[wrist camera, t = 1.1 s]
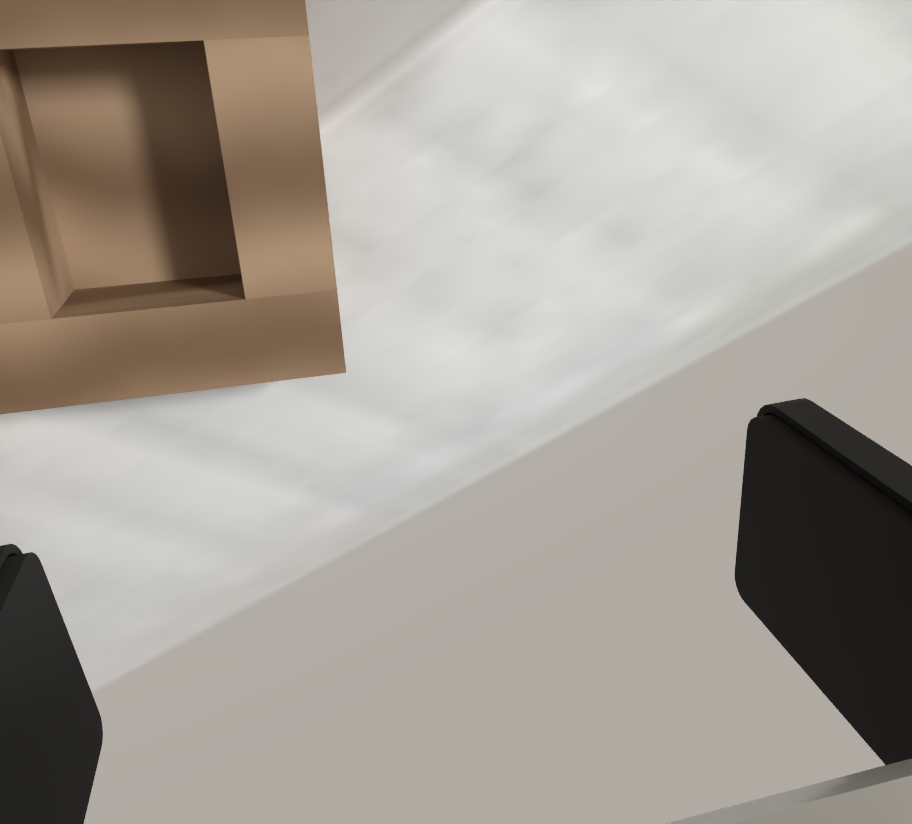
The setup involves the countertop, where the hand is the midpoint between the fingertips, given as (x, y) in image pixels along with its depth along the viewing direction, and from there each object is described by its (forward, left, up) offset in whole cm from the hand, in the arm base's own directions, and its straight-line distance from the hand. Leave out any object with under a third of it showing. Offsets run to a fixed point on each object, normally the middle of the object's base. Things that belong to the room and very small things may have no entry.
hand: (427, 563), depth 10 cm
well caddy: (-2, -7, -27) cm, 28 cm away
